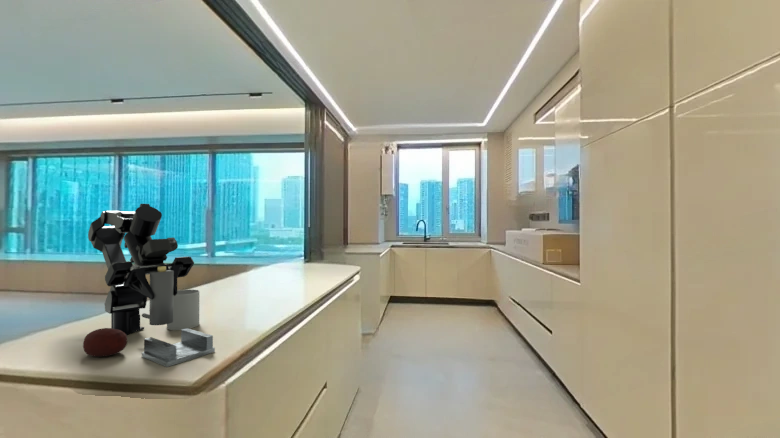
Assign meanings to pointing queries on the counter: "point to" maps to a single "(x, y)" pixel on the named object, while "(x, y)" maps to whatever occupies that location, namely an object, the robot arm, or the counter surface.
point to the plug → (161, 297)
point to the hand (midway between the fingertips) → (164, 296)
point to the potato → (104, 342)
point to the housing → (178, 348)
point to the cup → (185, 310)
